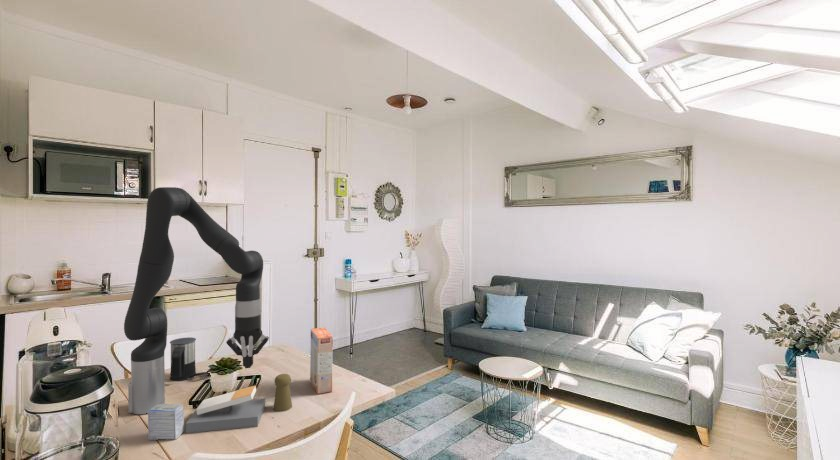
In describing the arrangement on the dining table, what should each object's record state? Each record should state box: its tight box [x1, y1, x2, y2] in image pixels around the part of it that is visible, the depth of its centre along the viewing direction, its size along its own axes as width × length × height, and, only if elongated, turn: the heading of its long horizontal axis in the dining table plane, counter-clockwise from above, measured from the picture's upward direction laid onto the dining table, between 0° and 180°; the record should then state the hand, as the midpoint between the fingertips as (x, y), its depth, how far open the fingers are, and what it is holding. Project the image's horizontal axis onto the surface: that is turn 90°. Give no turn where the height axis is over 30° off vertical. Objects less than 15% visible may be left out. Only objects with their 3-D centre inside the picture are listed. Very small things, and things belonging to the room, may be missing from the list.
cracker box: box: [309, 327, 334, 395], centre depth 151 cm, size 14×6×21 cm, turn 25°
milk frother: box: [169, 336, 211, 382], centre depth 159 cm, size 14×16×15 cm
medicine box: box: [147, 403, 185, 441], centre depth 116 cm, size 8×4×9 cm, turn 92°
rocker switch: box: [195, 385, 257, 415], centre depth 125 cm, size 16×7×2 cm, turn 102°
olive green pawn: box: [272, 373, 293, 413], centre depth 134 cm, size 6×6×11 cm
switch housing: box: [185, 397, 266, 434], centre depth 126 cm, size 20×13×5 cm, turn 102°
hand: (248, 367), depth 127 cm, fingers closed
